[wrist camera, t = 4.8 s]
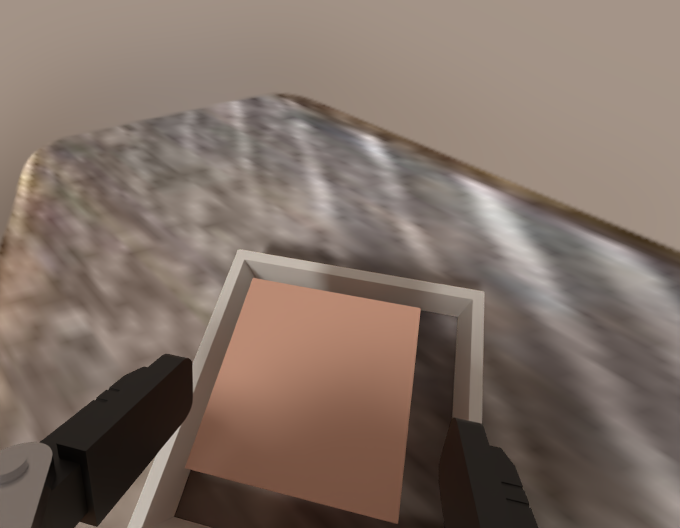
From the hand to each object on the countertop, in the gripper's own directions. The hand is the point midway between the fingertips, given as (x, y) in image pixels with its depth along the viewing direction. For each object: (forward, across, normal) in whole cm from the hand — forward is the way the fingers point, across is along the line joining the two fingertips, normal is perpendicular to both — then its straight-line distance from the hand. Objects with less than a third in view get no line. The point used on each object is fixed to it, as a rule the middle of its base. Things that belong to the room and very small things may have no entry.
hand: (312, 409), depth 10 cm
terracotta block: (+5, 0, +4) cm, 6 cm away
